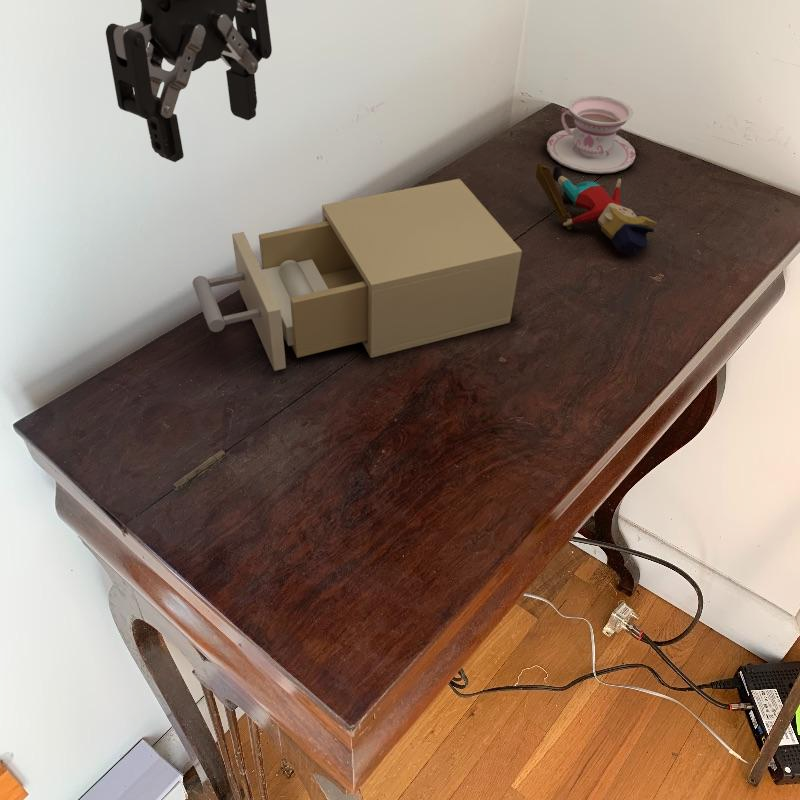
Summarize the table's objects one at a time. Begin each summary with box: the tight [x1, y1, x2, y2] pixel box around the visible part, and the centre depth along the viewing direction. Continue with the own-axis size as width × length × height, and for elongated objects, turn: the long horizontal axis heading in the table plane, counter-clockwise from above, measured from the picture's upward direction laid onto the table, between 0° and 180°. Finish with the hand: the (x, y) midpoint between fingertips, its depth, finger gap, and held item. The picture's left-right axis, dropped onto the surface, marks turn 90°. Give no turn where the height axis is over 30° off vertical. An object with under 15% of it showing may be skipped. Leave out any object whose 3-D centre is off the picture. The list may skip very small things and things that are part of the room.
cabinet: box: [321, 178, 523, 359], centre depth 83 cm, size 16×14×9 cm
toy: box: [535, 161, 658, 255], centre depth 94 cm, size 9×6×15 cm
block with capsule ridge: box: [261, 259, 328, 347], centre depth 80 cm, size 10×6×4 cm, turn 22°
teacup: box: [546, 95, 637, 175], centre depth 107 cm, size 12×12×6 cm
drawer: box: [192, 221, 369, 372], centre depth 79 cm, size 20×13×7 cm, turn 112°
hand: (208, 136), depth 65 cm, fingers open, 8 cm apart
